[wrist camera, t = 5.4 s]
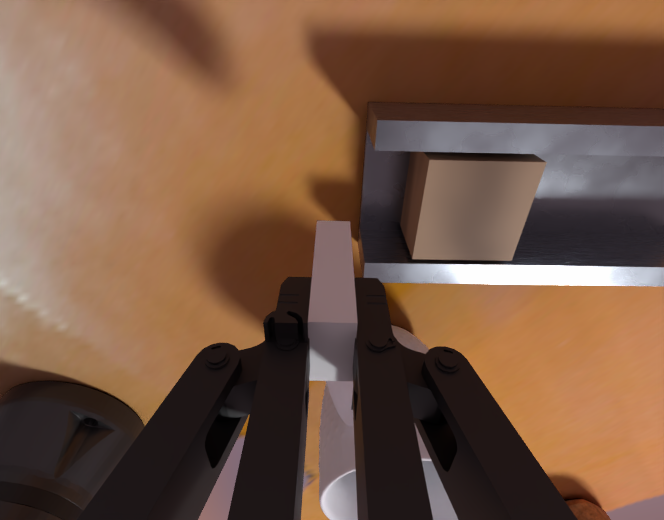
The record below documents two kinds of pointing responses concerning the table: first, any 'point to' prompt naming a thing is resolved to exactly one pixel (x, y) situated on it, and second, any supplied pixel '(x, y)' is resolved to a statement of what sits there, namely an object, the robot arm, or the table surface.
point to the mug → (340, 451)
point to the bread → (586, 510)
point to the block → (468, 204)
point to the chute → (550, 199)
